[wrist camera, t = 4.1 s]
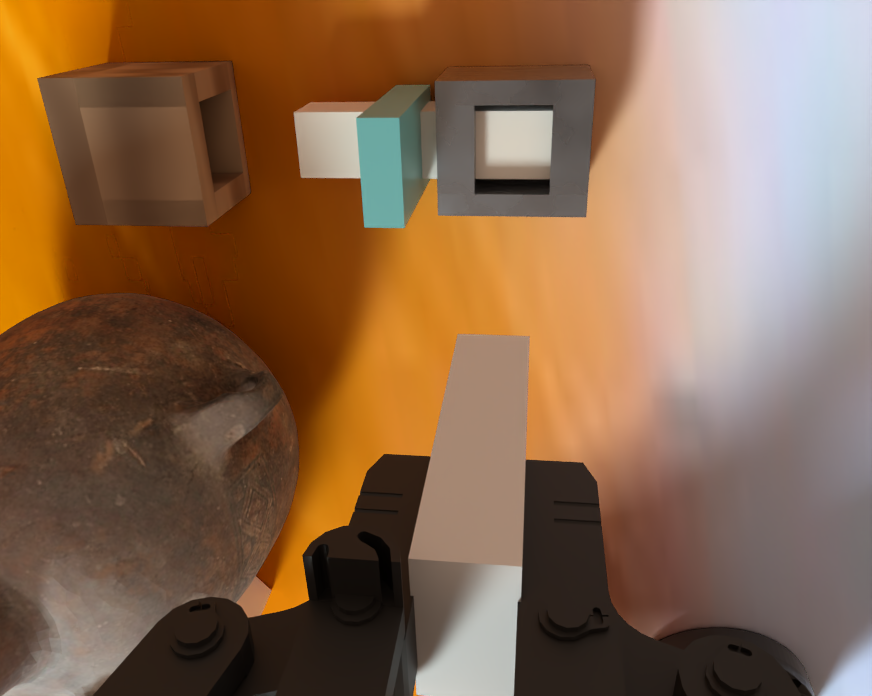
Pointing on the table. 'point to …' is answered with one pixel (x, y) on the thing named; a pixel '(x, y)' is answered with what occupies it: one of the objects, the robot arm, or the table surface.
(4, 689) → the jug
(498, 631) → the robot arm
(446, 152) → the sleeve
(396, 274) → the table surface
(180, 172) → the socket
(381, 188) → the bolt
